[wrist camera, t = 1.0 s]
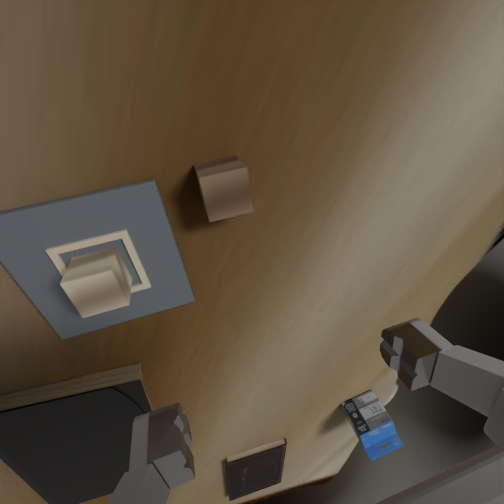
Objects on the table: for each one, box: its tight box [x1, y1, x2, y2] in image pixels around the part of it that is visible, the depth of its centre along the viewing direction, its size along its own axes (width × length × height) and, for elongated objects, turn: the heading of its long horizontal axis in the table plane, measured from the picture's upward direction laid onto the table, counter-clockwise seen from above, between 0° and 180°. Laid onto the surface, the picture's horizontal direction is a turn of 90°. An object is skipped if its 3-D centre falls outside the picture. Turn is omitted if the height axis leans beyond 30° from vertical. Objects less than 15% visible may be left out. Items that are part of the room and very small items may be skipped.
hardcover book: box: [226, 438, 287, 501], centre depth 78 cm, size 16×23×2 cm
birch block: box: [60, 246, 132, 318], centre depth 32 cm, size 5×5×5 cm
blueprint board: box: [0, 178, 195, 340], centre depth 34 cm, size 18×18×1 cm
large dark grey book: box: [0, 363, 155, 504], centre depth 50 cm, size 33×4×24 cm
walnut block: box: [194, 156, 253, 222], centre depth 32 cm, size 5×5×5 cm
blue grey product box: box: [341, 390, 404, 461], centre depth 69 cm, size 9×4×12 cm, turn 105°
